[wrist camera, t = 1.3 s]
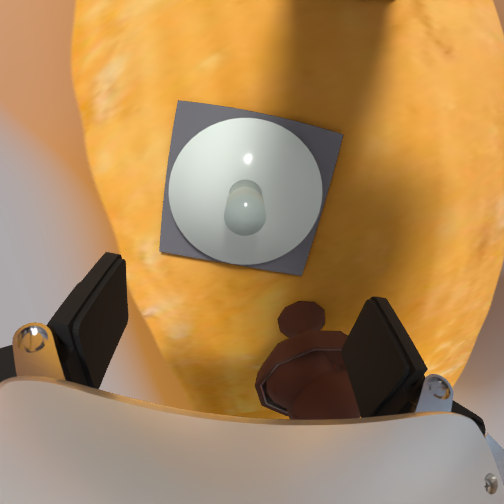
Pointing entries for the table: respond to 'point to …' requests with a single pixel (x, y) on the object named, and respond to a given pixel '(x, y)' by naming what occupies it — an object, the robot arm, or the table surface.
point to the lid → (245, 191)
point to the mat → (204, 115)
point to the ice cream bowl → (307, 369)
